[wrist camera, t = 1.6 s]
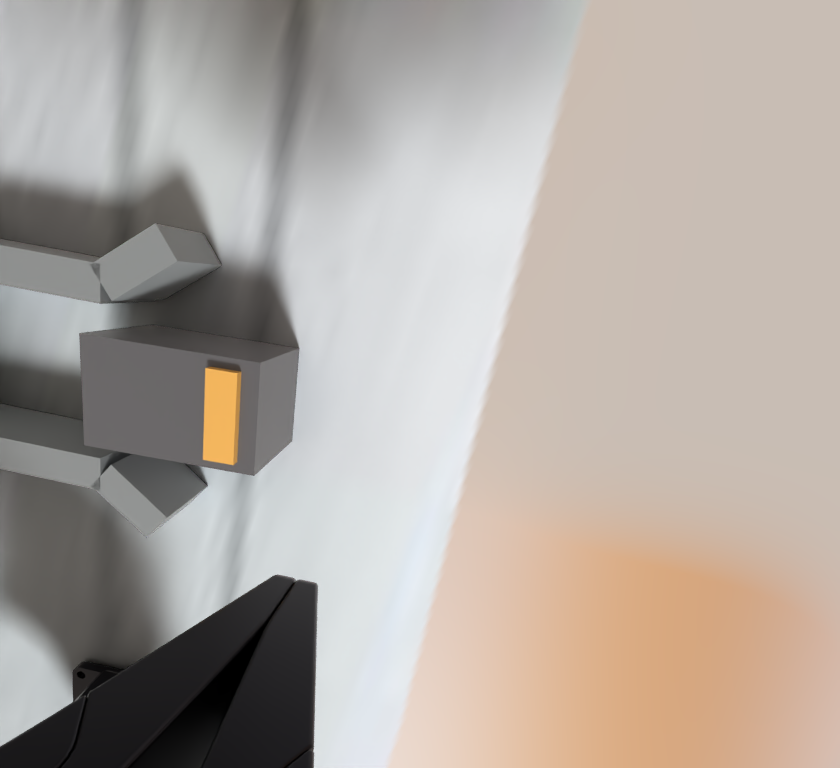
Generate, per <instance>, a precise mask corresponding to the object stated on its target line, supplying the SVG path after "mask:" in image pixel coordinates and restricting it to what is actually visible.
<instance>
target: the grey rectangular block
mask: <svg viewBox="0 0 840 768" xmlns="http://www.w3.org/2000/svg"><path fill="white" fill-rule="evenodd" d="M79 336H80V359H81V382H82V405H83V428H84V445H85V446H91V447H96V448H102V449H107V450H113V451H119V452H124V453H130V454H135V455H141V456H147V457H152V458H158V459H163V460H169V461H175V462H180V463H186V464H191V465H197V466H202V467H208V468H214V469H219V470H225V471H230V472H236V473H242V474H247V475H253V476H254V475H255V474H256V473H258V472H259V471H260V470H261V469H262V468H263V467H264V466H265V465H266V464H267V463H269V462H270V461H271V460H272V459H273V458H274V457H275V456H276V455H277V454H278V453H279V452H281V451H282V450H283V449H284V448H285V447H286V446H287V445H288V444H289V443H290V442H292V435H293V422H294V410H295V397H296V384H297V372H298V359H299V348H295V347H288V346H282V345H276V344H270V343H263V342H257V341H251V340H245V339H238V338H232V337H226V336H220V335H214V334H207V333H201V332H195V331H189V330H182V329H176V328H170V327H164V326H157V325H145V326H136V327H128V328H119V329H111V330H102V331H94V332H86V333H79Z"/></svg>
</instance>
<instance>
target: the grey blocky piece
mask: <svg viewBox="0 0 840 768" xmlns="http://www.w3.org/2000/svg"><path fill="white" fill-rule="evenodd" d="M220 266H222V265H221V263H220V261H219V260H218V258H217V256H216V254H215V253H214V251H213V249H212V247H211V246H210V244H209V242H208V240H207V238H206V237H205V235H204V234H203V233H199V232H194V231H190V230H185V229H180V228H176V227H171V226H166V225H162V224H157V223H155V224H153V225H152V226H150V227H148V228H147V229H145V230H144V231H142V232H140V233H139V234H137V235H136V236H134V237H133V238H131V239H129V240H128V241H126V242H125V243H123V244H122V245H120V246H118V247H117V248H115V249H114V250H112V251H110V252H109V253H107V254H106V255H104V256H103V257H97V256H91V255H86V254H80V253H75V252H70V251H64V250H59V249H54V248H48V247H43V246H38V245H32V244H27V243H22V242H16V241H11V240H6V239H0V284H1V285H6V286H11V287H16V288H22V289H27V290H32V291H37V292H42V293H48V294H53V295H58V296H63V297H68V298H74V299H79V300H84V301H89V302H94V303H100V304H103V303H127V302H151V301H155V299H166V298H168V297H169V296H171V295H173V294H174V293H176V292H178V291H179V290H181V289H183V288H185V287H186V286H188V285H190V284H191V283H193V282H195V281H196V280H198V279H200V278H202V277H203V276H205V275H207V274H208V273H210V272H212V271H213V270H215V269H217V268H219V267H220ZM0 469H2V470H7V471H12V472H16V473H21V474H26V475H30V476H35V477H40V478H44V479H49V480H54V481H58V482H63V483H67V484H72V485H77V486H81V487H86V488H91V489H95V490H96V491H97V492H98V493H99V494H100V495H101V496H102V497H103V498H104V499H105V500H106V501H107V502H108V503H110V504H111V505H112V506H113V507H114V508H115V509H116V510H117V511H118V512H119V513H120V514H121V515H122V516H124V517H125V518H126V519H127V520H128V521H129V522H130V523H131V524H132V525H133V526H134V527H135V528H136V529H138V530H139V531H140V532H141V533H142V534H143V535H144V536H145V537H146V538H147V537H148V536H149V535H151V534H152V533H153V532H154V531H156V530H157V529H158V528H159V527H161V526H162V525H163V524H164V523H166V522H167V521H168V520H169V519H171V518H172V517H173V516H174V515H176V514H177V513H178V512H179V511H181V510H182V509H183V508H184V507H186V506H187V505H188V504H189V503H190V502H192V501H193V500H194V499H195V498H196V497H197V496H198V495H199V494H200V493H201V492H202V491H203V490H204V489H205V488H206V487H207V485H206V484H205V483H204V482H203V481H202V480H201V479H200V478H199V477H198V476H197V475H196V474H195V473H194V472H193V471H192V470H191V469H190V468H188V467H187V466H186V465H185V464H184V463H180V462H175V461H169V460H163V459H158V458H152V457H147V456H141V455H135V454H130V453H124V452H119V451H113V450H107V449H102V448H96V447H91V446H85V445H84V428H83V420H78V419H73V418H69V417H64V416H59V415H54V414H49V413H44V412H40V411H35V410H30V409H25V408H20V407H15V406H10V405H6V404H1V403H0Z"/></svg>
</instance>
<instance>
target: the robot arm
mask: <svg viewBox="0 0 840 768" xmlns="http://www.w3.org/2000/svg"><path fill="white" fill-rule="evenodd" d="M317 599H318V585H317V584H316V583H314V582H310V581H305V580H297V581H296V580H295V579H294V578H291V577H287V576H282V575H274V576H272V577H271V578H269V579H268V580H266V581H264V582H263V583H261V584H260V585H258V586H257V587H255V588H253V589H252V590H250V591H249V592H247V593H245V594H244V595H242V596H241V597H239V598H238V599H236V600H234V601H233V602H231V603H230V604H228V605H226V606H225V607H223V608H222V609H220V610H219V611H217V612H215V613H214V614H212V615H211V616H209V617H207V618H206V619H204V620H203V621H201V622H200V623H198V624H196V625H195V626H193V627H192V628H190V629H188V630H187V631H185V632H184V633H182V634H181V635H179V636H177V637H176V638H174V639H173V640H171V641H169V642H168V643H166V644H165V645H163V646H161V647H160V648H158V649H157V650H155V651H154V652H152V653H150V654H149V655H147V656H146V657H144V658H142V659H141V660H139V661H138V662H136V663H135V664H133V665H131V666H130V667H128V668H127V669H125V670H120V669H116V668H112V667H107V666H103V665H99V664H95V663H90V662H81V663H80V664H79V665H78V666H77V667H76V668H75V669H74V670H73V702H72V703H71V704H69V705H68V706H66V707H65V708H63V709H61V710H60V711H58V712H57V713H55V714H53V715H52V716H50V717H48V718H47V719H45V720H43V721H42V722H40V723H39V724H37V725H35V726H34V727H32V728H30V729H29V730H27V731H25V732H24V733H22V734H20V735H19V736H17V737H15V738H14V739H12V740H11V741H9V742H7V743H6V744H4V745H2V746H0V768H314V752H313V749H314V721H315V680H316V639H317Z"/></svg>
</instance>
